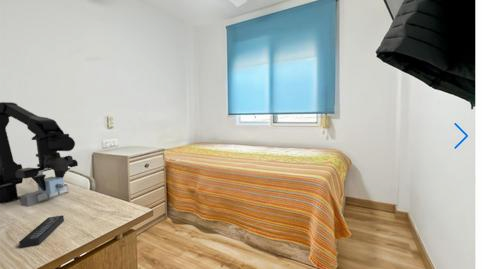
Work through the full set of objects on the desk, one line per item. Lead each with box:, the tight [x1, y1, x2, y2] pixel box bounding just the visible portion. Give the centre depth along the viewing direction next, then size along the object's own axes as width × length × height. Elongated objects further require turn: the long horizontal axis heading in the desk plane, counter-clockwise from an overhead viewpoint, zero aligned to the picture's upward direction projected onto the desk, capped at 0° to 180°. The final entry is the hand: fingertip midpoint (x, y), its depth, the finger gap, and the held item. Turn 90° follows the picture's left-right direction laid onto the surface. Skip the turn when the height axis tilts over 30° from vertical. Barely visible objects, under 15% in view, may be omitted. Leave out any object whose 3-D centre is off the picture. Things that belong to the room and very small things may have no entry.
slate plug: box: [37, 176, 65, 194], centre depth 87 cm, size 12×5×5 cm, turn 73°
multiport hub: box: [18, 215, 65, 249], centre depth 66 cm, size 4×14×2 cm, turn 17°
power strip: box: [20, 183, 69, 207], centre depth 92 cm, size 4×15×5 cm, turn 163°
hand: (51, 188), depth 87 cm, fingers closed on slate plug, 5 cm apart
